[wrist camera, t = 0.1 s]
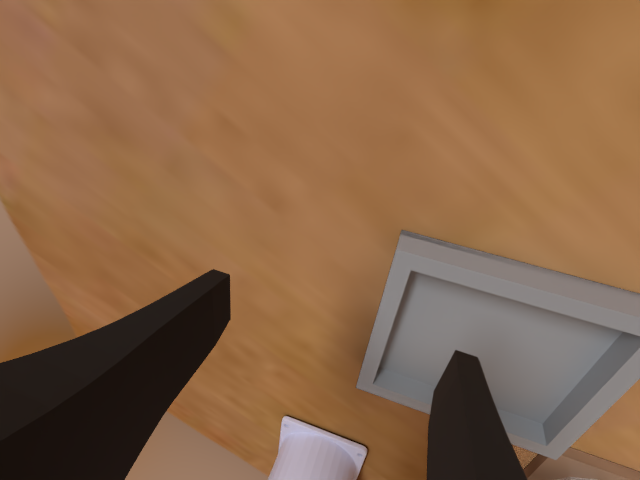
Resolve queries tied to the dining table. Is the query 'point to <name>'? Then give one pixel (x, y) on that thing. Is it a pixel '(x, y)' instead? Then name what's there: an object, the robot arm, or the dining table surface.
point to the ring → (574, 479)
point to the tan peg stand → (577, 468)
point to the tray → (504, 339)
